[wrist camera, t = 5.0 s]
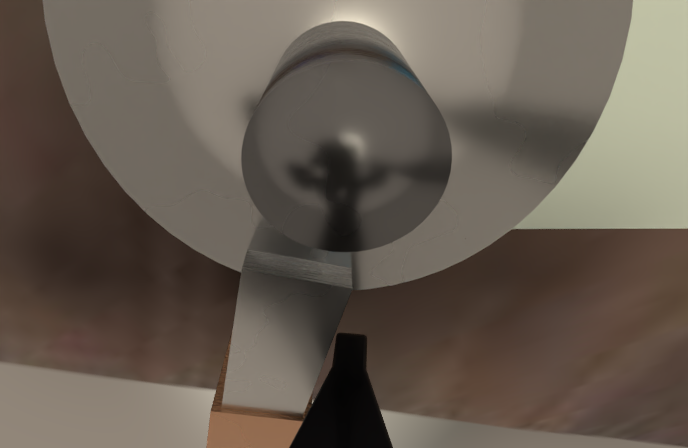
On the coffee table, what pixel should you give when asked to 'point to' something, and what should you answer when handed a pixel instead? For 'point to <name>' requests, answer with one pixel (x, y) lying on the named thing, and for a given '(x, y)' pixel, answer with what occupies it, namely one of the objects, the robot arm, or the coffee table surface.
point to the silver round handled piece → (330, 148)
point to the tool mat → (633, 137)
